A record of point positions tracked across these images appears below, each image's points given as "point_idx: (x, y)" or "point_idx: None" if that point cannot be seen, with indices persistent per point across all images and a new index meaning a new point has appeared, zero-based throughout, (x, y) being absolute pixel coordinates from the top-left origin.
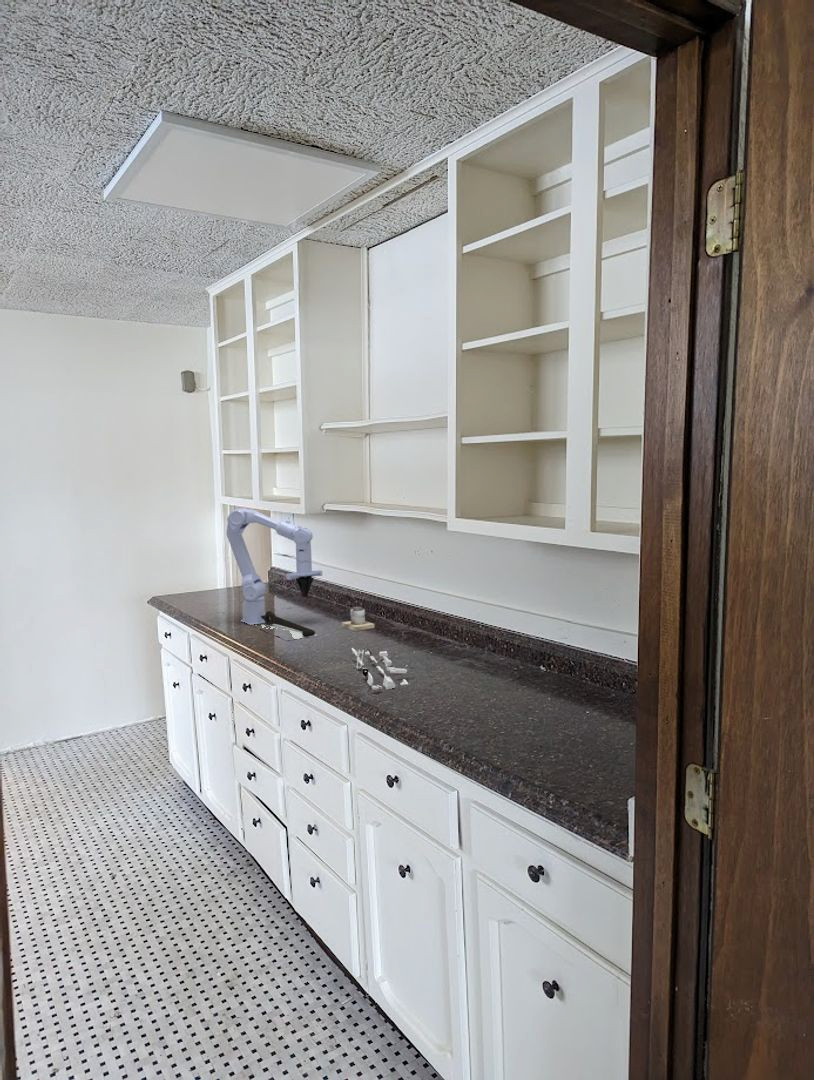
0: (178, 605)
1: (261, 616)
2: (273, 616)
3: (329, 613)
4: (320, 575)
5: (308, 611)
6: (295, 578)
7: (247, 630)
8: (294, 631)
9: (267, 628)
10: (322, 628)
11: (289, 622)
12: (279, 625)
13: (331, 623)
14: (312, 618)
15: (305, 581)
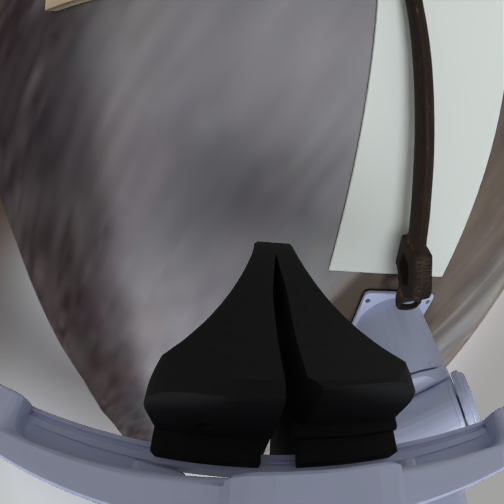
0: None
1: (420, 301)
2: (427, 251)
3: (84, 266)
4: (14, 397)
5: (143, 334)
6: (427, 438)
7: (484, 243)
8: None
9: (448, 209)
10: (266, 8)
11: (434, 120)
12: (387, 218)
13: (156, 79)
14: (179, 239)
15: (340, 363)
